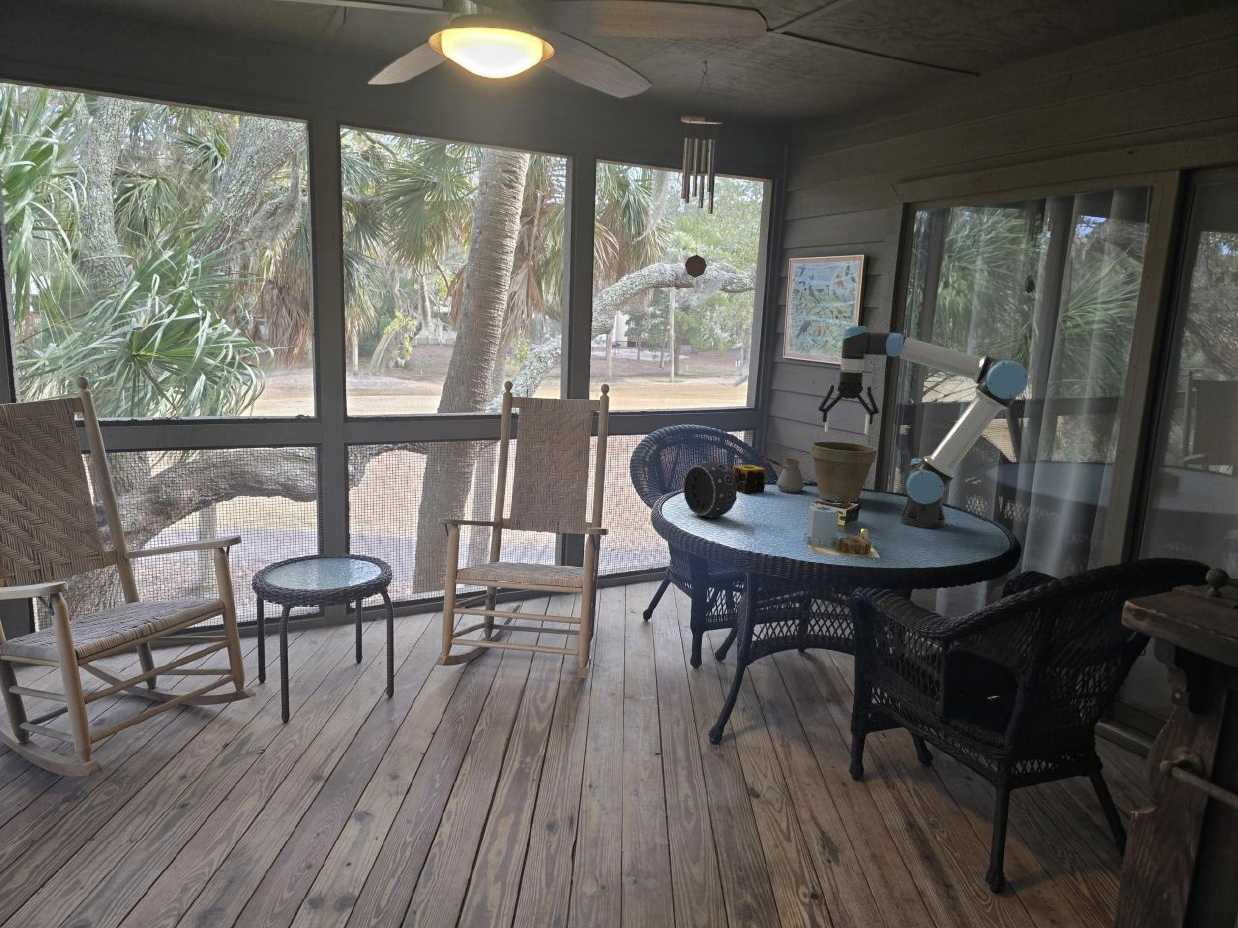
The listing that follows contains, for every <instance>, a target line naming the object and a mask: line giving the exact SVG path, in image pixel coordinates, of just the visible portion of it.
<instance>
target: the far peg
mask: <svg viewBox="0 0 1238 928" xmlns="http://www.w3.org/2000/svg"><path fill="white" fill-rule="evenodd" d="M868 535H869V529H868V528H863V527H862V528H860V537H859V539H866V540H868Z"/></svg>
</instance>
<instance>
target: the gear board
mask: <svg viewBox="0 0 1238 928" xmlns="http://www.w3.org/2000/svg"><path fill="white" fill-rule="evenodd" d="M806 545H807V546H808V549H809V551H810V554H816V555H818V554H819V555H830V556H831V555H832V556H835V555H836V556H847V557H848V556H849V557H861V558H862V557H863V558H864V557H866V558H879V559H881V557H880V555H879V554H878V552H877V551H876V549H875V548H874V546H873V545H872V544H871V551H870V554H864V555H859V554H854V555H852V554H850V553H843V552H841V551H842V550H839V549H838V546H839V543H838V546H833V547H831V548H827V547H820V546H819V547H815V546H814V545H811V544H806Z"/></svg>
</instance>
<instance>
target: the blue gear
mask: <svg viewBox="0 0 1238 928" xmlns="http://www.w3.org/2000/svg"><path fill="white" fill-rule="evenodd" d="M807 513H808V514H807V516H808V517H807V528H806V531H805V532H804V538H803V540H804V543H805V544H806V545H807V544H811V545H814V546H815V547H819V546H820V547H827V548H831V547H833V546H838V543H839V540H840V538H839V534H838V526H839V514H840V509H839V508H837V507H834V506H829V505H817V504H816V505H811V506H809V507H808V512H807Z"/></svg>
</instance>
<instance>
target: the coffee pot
mask: <svg viewBox="0 0 1238 928" xmlns="http://www.w3.org/2000/svg"><path fill="white" fill-rule="evenodd" d="M765 460H767V461H766V462H765ZM763 462H764V464H765V463H769V462H770V463H772V464H773V465H776V466H779V467H781V468H783V469H782V471H781V473H780V475H779V476H778V479H777V481H776V486H777V488H778V489H780V492H781V491H782V492H783V493H795V492H796V493H799V492H800V491H801V490H803V489H804V487H805V481H804V479H803V476H802V473H801V470H800V467H799V465H800V462H801V460H799V459H796V458H795V459H793V458H785V459H784V462H785V465H783V464H781V463H779V462H777V461H776V460H774V459H772V458H769V457H766V458H764V459H763Z"/></svg>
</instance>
